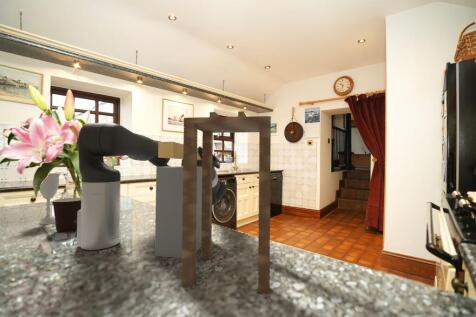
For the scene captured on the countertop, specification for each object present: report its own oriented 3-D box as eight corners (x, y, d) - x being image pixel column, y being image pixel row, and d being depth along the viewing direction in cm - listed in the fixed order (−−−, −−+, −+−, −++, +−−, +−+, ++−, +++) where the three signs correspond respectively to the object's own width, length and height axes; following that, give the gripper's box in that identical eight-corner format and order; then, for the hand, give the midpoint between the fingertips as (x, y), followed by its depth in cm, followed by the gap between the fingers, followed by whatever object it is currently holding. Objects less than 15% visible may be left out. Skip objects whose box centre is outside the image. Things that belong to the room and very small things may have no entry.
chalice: (63, 222, 86) (64, 173, 86) (40, 226, 80) (41, 174, 81) (54, 219, 90) (55, 173, 90) (32, 223, 84) (33, 173, 84)
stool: (181, 286, 42) (183, 112, 43) (203, 255, 56) (205, 124, 57) (269, 293, 40) (270, 110, 41) (269, 260, 54) (270, 123, 55)
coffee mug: (67, 234, 71) (68, 202, 72) (44, 232, 73) (45, 201, 73) (97, 224, 83) (97, 196, 83) (77, 223, 85) (77, 195, 85)
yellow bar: (158, 157, 51) (158, 141, 51) (191, 159, 73) (191, 148, 73) (173, 157, 51) (173, 141, 51) (202, 159, 73) (202, 148, 73)
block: (154, 256, 56) (156, 167, 56) (177, 237, 70) (178, 166, 70) (190, 258, 55) (191, 167, 55) (206, 239, 68) (207, 166, 69)
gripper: (189, 165, 87) (173, 138, 72) (226, 166, 85) (217, 138, 70) (185, 184, 83) (167, 159, 68) (224, 184, 81) (214, 160, 66)
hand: (192, 149), depth 69 cm, fingers closed on yellow bar, 3 cm apart
